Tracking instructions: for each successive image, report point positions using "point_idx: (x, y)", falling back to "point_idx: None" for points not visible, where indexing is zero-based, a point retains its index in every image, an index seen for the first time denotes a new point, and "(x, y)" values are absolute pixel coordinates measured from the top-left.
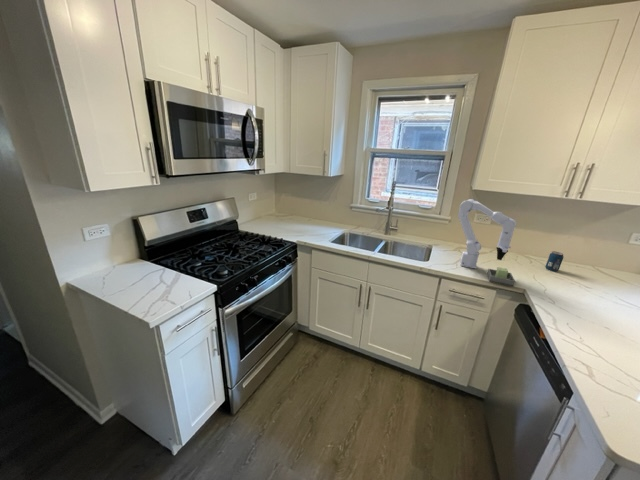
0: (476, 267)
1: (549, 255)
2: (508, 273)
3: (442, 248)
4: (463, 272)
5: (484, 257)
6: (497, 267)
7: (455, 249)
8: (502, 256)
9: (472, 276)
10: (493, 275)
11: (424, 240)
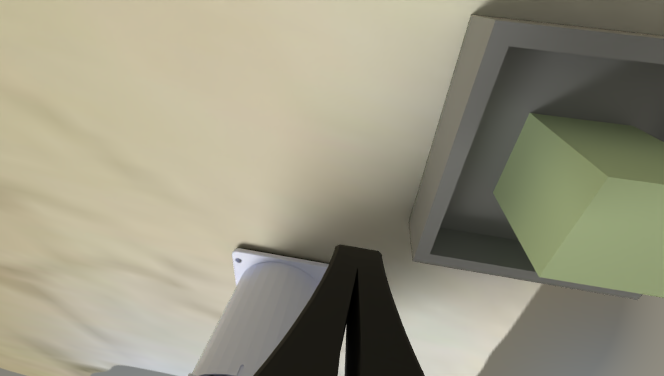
0: (316, 267)
1: None
2: (501, 60)
3: (75, 338)
4: (439, 345)
5: None
6: (539, 272)
7: (14, 284)
8: (389, 333)
9: (500, 322)
10: (481, 201)
11: (33, 373)
